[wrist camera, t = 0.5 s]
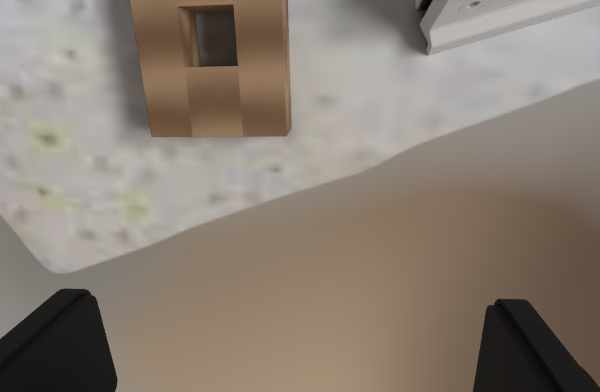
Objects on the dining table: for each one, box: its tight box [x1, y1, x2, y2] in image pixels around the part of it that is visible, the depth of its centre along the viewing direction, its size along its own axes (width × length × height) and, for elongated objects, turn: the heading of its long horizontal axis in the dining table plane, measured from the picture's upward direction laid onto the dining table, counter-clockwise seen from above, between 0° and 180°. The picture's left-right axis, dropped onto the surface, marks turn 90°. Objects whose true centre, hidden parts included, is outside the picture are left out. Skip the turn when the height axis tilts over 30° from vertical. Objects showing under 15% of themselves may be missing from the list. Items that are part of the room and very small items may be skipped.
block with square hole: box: [130, 0, 291, 137], centre depth 32 cm, size 16×12×4 cm
